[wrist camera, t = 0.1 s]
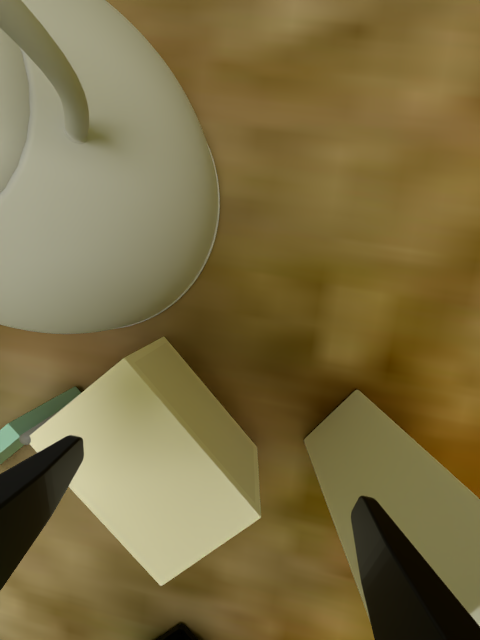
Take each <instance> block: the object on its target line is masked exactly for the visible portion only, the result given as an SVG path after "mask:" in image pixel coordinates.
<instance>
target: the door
mask: <svg viewBox="0 0 480 640" xmlns="http://www.w3.org/2000/svg"><path fill="white" fill-rule="evenodd" d="M79 394H81V392H80V391H79V390H78V389H77V387H76V386H75V387H73V388H71V389H69V390H68V391H66V392H64V393H62V394H60V395H59V396H57V397H55V398H53V399H51V400H50V401H48V402H46V403H44V404H42V405H41V406H39V407H37V408H35V409H33V410H32V411H30V412H28V413H26V414H24V415H22V416H21V417H19V418H17V419H15V420H13V421H12V422H10V423H8V424H7V425H6V426H4V427H3V428H2V429H1V430H0V464H1V463H3V462H4V461H5V460H6V459H8V458H9V457H10V456H11V455H12V454H14V453H15V452H16V451H17V450H19V449H20V448H21V447H22V446H23V444H22V443H21V442H20V440H19V437H20V435H22V434H23V433H25V432H26V431H28V430H29V429H31V428H33V427H34V426H36V425H37V424H39V423H40V422H42V421H44V420H45V419H47V418H48V417H50V416H51V415H53V414H55V413H56V412H58V411H59V410H61V409H62V408H64V407H65V406H66V405H67V404H69V403H70V402H71V401H72V400H73V399H75V398H76V397H77V396H78V395H79Z"/></svg>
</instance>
